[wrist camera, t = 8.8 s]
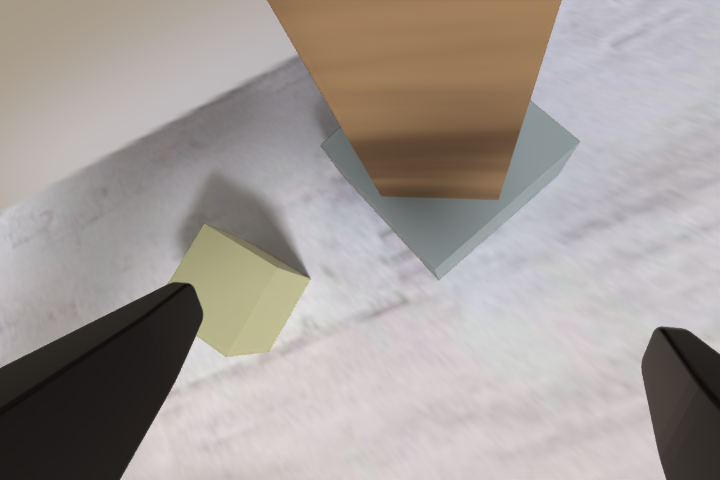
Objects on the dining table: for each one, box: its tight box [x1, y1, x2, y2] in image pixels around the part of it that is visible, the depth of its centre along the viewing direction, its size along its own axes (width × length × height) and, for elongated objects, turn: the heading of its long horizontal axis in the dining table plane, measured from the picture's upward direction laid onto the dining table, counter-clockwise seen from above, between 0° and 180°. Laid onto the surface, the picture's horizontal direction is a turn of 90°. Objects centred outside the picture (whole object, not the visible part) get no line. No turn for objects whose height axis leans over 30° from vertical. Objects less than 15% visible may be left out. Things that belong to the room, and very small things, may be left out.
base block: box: [320, 100, 580, 280], centre depth 21 cm, size 8×8×4 cm
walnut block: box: [267, 0, 561, 200], centre depth 12 cm, size 5×5×13 cm
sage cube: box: [168, 224, 311, 357], centre depth 21 cm, size 4×4×4 cm
